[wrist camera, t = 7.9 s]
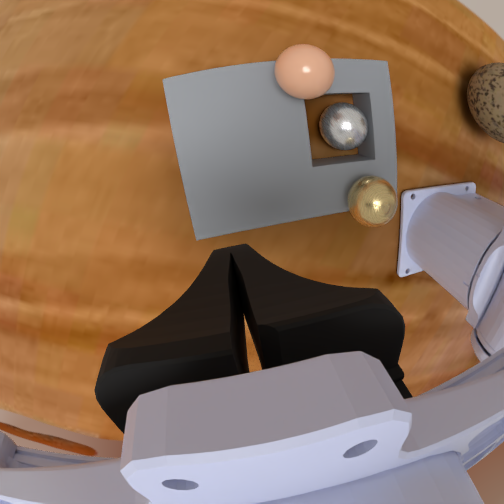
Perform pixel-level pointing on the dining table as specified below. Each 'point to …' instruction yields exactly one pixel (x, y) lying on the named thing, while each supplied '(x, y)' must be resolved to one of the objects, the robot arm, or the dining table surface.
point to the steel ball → (343, 126)
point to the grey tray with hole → (271, 145)
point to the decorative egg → (488, 99)
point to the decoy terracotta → (304, 71)
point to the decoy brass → (372, 201)
